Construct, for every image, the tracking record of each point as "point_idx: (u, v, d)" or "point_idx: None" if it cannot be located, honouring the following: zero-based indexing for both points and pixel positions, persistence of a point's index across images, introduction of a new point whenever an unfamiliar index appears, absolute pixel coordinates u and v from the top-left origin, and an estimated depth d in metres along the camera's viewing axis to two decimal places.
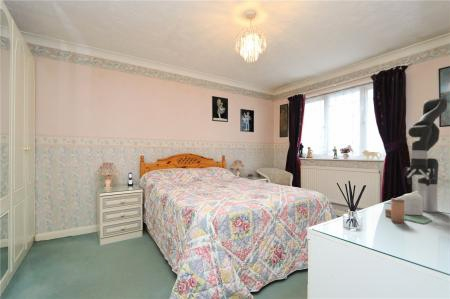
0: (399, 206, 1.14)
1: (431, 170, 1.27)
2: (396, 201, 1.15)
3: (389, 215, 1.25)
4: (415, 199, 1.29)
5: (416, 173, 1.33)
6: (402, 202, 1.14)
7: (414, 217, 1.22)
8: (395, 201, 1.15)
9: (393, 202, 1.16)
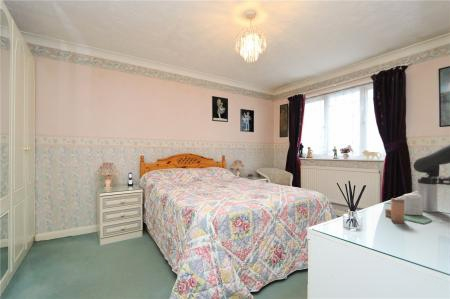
0: (399, 206, 1.14)
1: None
2: (396, 201, 1.15)
3: (389, 215, 1.25)
4: (415, 199, 1.29)
5: None
6: (402, 202, 1.14)
7: (414, 217, 1.22)
8: (395, 201, 1.15)
9: (393, 202, 1.16)
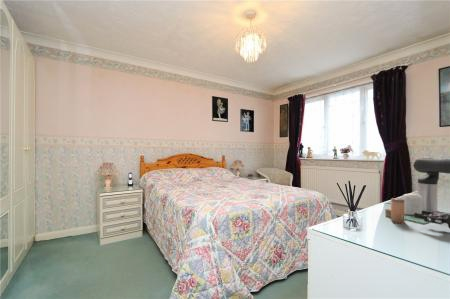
0: (399, 206, 1.14)
1: None
2: (396, 201, 1.15)
3: (389, 215, 1.25)
4: (415, 199, 1.29)
5: None
6: (402, 202, 1.14)
7: (414, 217, 1.22)
8: (395, 201, 1.15)
9: (393, 202, 1.16)
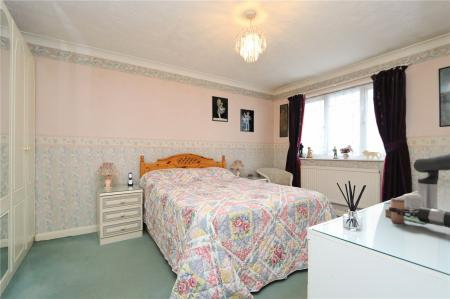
0: (398, 206, 1.14)
1: None
2: (396, 201, 1.15)
3: (389, 215, 1.25)
4: (415, 199, 1.29)
5: None
6: (402, 202, 1.14)
7: (414, 217, 1.22)
8: (395, 201, 1.15)
9: (393, 202, 1.16)
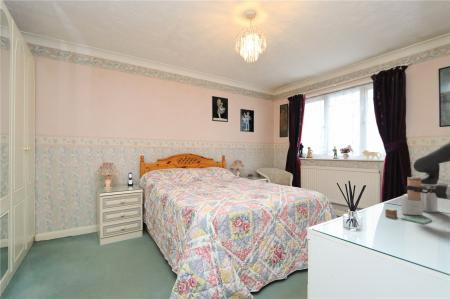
0: (415, 184, 1.17)
1: None
2: (413, 179, 1.18)
3: (389, 215, 1.25)
4: None
5: None
6: (419, 180, 1.17)
7: (414, 217, 1.22)
8: (412, 179, 1.18)
9: (410, 180, 1.19)
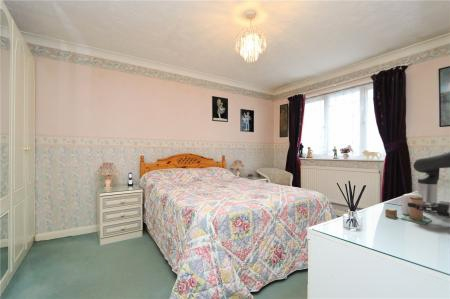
0: (417, 203, 1.17)
1: None
2: (415, 199, 1.18)
3: (389, 215, 1.25)
4: None
5: None
6: (421, 200, 1.17)
7: None
8: (414, 199, 1.18)
9: (412, 200, 1.19)
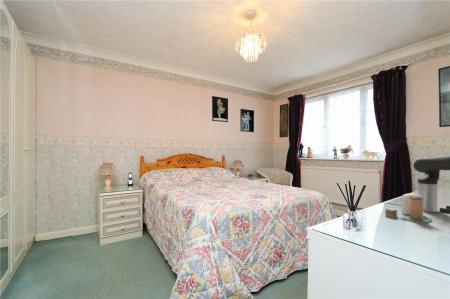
0: (417, 203, 1.17)
1: None
2: (415, 199, 1.18)
3: (389, 215, 1.25)
4: None
5: None
6: (421, 200, 1.17)
7: None
8: (413, 199, 1.18)
9: (411, 200, 1.19)
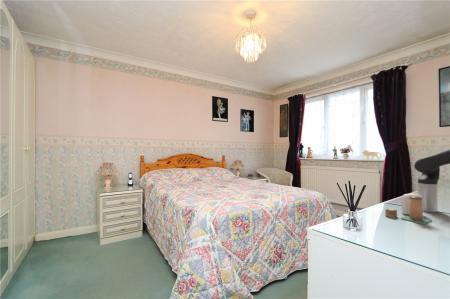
0: (416, 203, 1.17)
1: None
2: (414, 198, 1.18)
3: (389, 215, 1.25)
4: None
5: None
6: (420, 199, 1.17)
7: None
8: (413, 199, 1.18)
9: (411, 200, 1.19)
